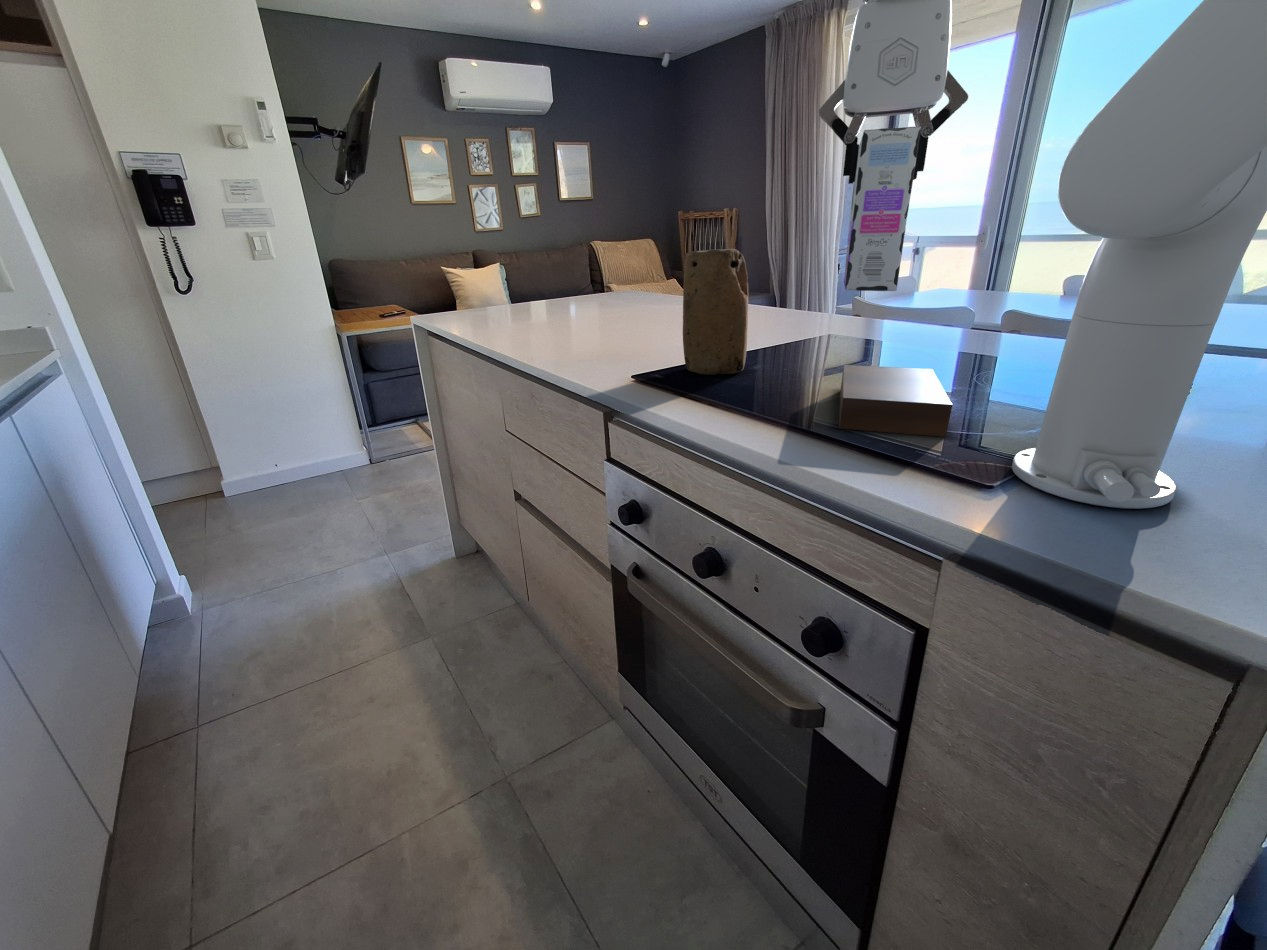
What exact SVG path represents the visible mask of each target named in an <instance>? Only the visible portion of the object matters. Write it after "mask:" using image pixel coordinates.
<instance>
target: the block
mask: <svg viewBox="0 0 1267 950" xmlns="http://www.w3.org/2000/svg"><path fill="white" fill-rule="evenodd" d="M684 258H685V259H684V269H683V285H682V286H683V287H682V289H683V291H682V293H683V294H682V299H683V300H682V347H683V357H684V364H685V367H686V369H687V371H689V372H691V373H694V374H697V375H702V376H703V375H704V376H705V375H706V376H716V375H734V374H737V373H741V372H742V371H743V370H744V368H745V366H746V358H747V351H748V350H747V349H748V325H749V282H748V281H749V280H748V279H749V277H748V271H747V263H746V260H745V257H744V254H742V253H741V252H740V251H739V250H738V249H735V248H726V249H706V250H693V251H688V252H687V253H686V254H685V257H684Z"/></svg>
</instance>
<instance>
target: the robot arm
mask: <svg viewBox="0 0 1267 950" xmlns="http://www.w3.org/2000/svg"><path fill="white" fill-rule="evenodd" d="M862 2H863V3H864V2H865V3H864V4H862V5H860V6H859V7H858V9H857V12H856V15H855V19H854V23H853V28H852V33H851V38H850V43H849V50H848V58H847V65H846V72H845V79H844V80H843V81H842V83H841V84H840V85H839V86H838V87H837V88H836V89H835V91H833V92H832V94H831V95H830V96H829V97H828V98H827V100H826V101H824V103H823V104H822V105H821V106H820V108H819V109H818V115H819V118H821V119H822V120H823V122H824V123H826V125H827V126H828V127H830V129H831V131H833V132H834V134H835V135H836V136H837V137H838V138H839V139H840V140H841V142H842V143H843V144H844V146H845V153H844V163H843V173H842V177H848V182H847V183H848V184H849V185H851V184H853V185H854V182H855V176H856V168H857V160H858V151H859V145H860V143H859V142H858V140H859V138H858V135H859V133H860V130H861V128H862V126H863V124H864V122H865V119H866V118H878V117H890V116H900V115H911V114H912V118H913V121H914V127H916V126H921V132H920V138H919V145H918V151H917V157H916V164H915V170H914V177H913V181H914V180H917V178H918V172H924V169H925V164H926V156H927V150H928V143H929V138H930V137H931V136H932V135H933V134H934V133H935V132H936V131H937V130H939V128H940V127H941V126H943V124H945V122H946V121H947V120H948V119H949V118H950V117H952V116H953V115H954V114H955V113H956V112H957V111H958V110H959V109H960V108H961V107H963V105H965V103H967V101H968V100H969V94H968V92H967V91H966V90H965V89H964V87H963V86H962V85H961V84H960V83H959V81H958V80H957V79H956V78H955V77H954V76H953V75H952V73H951V71H950V70H948V67H949V57H950V49H951V38H952V37H951V36H952V22H953V21H952V20H953V19H952V17H953V13H952V12H953V6H952V5H953V1H952V0H862ZM944 95H945V96H946V97H947V98H948V102H947V104H946V105H944V107H943V108H942V109H941V110H940V111H938V113H937V114H935V115H934V116H933V117H932V118H931V114H930V110H931V109H933V108H934V107H935V106H936V105H937V103H938V102H940V101H941V99H942V98H943V96H944ZM842 102H843V110H844V114H845V115H846V116H847V117H849V118H851V121H850V123H849V125H847V123H845V121H844V120H842V118H840V116H839V115H838V114H837V113H836V109H837V108H838V106H839V105H840V104H841V103H842ZM858 143H859V144H858ZM1057 198H1058V203H1059V206H1060V209H1061V212H1062V214H1063V216H1064V217H1065V219H1066V220H1067V221H1068V222H1069V223H1070V224H1071V225H1072V226H1073V227H1075V228H1076V229H1078V230H1079V231H1081V232H1083V233H1084V234H1087V235H1090V236H1093V237H1097V238H1101V241H1100V242H1099V244H1098V247H1097V248H1096V251H1095V253H1094V254H1093V257H1092V259H1091V261H1090V264H1089V265H1088V268H1087V270H1086V273H1085V275H1084V278H1083V281H1082V284H1081V287H1080V288H1079V292H1078V296H1077V300H1076V303H1075V307H1074V310H1073V314H1072V317H1071V320H1070V323H1069V326H1068V330H1067V334H1066V337H1065V341H1064V345H1063V348H1062V352H1061V356H1060V359H1059V363H1058V366H1057V370H1056V373H1055V378H1054V380H1053V384H1052V388H1051V391H1050V394H1049V398H1048V402H1047V406H1046V408H1045V409H1046V410H1045V412H1044V416H1043V419H1042V423H1041V427H1040V430H1039V434H1038V438H1037V442H1036V445H1035V447H1033V448H1027V449H1025V450H1021V451H1019V452H1018V453H1016V454H1015V455H1014V457H1013V459H1012V464H1011V469H1012V472H1013V474H1014V475H1016V477H1017V478H1019V479H1020V480H1022V481H1023V482H1024V483H1026V484H1027V485H1029V486H1031V487H1033V488H1035V489H1037V490H1040V491H1042V492H1044V493H1047V494H1051V495H1054V496H1056V497H1060V498H1062V499H1066V500H1070V501H1074V502H1078V503H1083V504H1088V505H1092V506H1100V507H1105V508H1115V509H1126V510H1127V509H1129V510H1133V509H1134V510H1138V509H1139V510H1141V509H1142V510H1143V509H1153V508H1158V507H1161V506H1162V507H1163V506H1164V505H1166V504H1168V503H1170V502H1171V501H1172V500H1173V499H1174V497H1175V494H1176V490H1177V485H1176V483H1175V482H1174V481H1173V480H1172V478H1171V477H1170V476H1168V475H1167V474H1165V473H1164V472H1162V471H1160V470H1161V467H1162V465H1163V462H1164V460H1165V457H1166V454H1167V452H1168V449H1169V446H1170V444H1171V441H1172V439H1173V437H1174V434H1175V431H1176V428H1177V426H1178V423H1179V420H1180V418H1181V415H1182V412H1183V410H1184V408H1185V405H1186V402H1187V399H1188V397H1189V394H1190V391H1191V389H1192V386H1193V383H1194V381H1195V379H1196V378H1195V377H1196V376H1197V373H1198V371H1199V367H1200V365H1201V362H1202V360H1203V357H1204V355H1205V352H1206V350H1207V347H1208V344H1209V342H1210V339H1211V336H1212V334H1213V331H1214V329H1215V326H1216V324H1217V323H1218V320H1219V317H1220V314H1221V313H1222V309H1223V307H1224V304H1225V302H1226V299H1227V297H1228V294H1229V291H1230V289H1231V287H1232V284H1233V281H1234V279H1235V276H1236V274H1237V273H1238V270H1239V268H1240V265H1241V264H1242V261H1243V259H1244V257H1245V254H1246V252H1247V250H1248V248H1249V246H1250V244H1251V241H1252V240H1253V238H1254V236H1255V234H1256V232H1257V230H1258V228H1259V227H1260V225H1261V223H1262V221H1263V220H1264V217H1265V215H1266V213H1267V0H1202V1H1201V2H1200V3H1199V5H1197V6H1196V7H1195V9H1194V10H1192V12H1191V13H1190V14H1189V15H1188V16H1187V17H1186V18H1185V19H1184V20H1183V22H1181V24H1180V25H1179V26H1177V28H1176V29H1175V30H1174V31H1173V32H1172V33H1171V34H1170V36H1168V37H1167V39H1165V41H1164V42H1163V43H1162V44H1161V45H1160V46H1159V47H1157V49H1156V50H1155V51H1154V52H1153V53H1152V54H1151V55H1150V57H1148V59H1146V61H1145V62H1144V63H1143V64H1142V65H1141V66H1140V67H1139V68H1138V69H1137V70H1136V71H1135V73H1133V74H1132V75H1131V77H1129V79H1128V80H1127V81H1126V82H1125V83H1124V84H1123V85H1122V86H1121V87H1120V88H1119V89H1118V91H1116V92H1115V94H1114V95H1112V97H1111V98H1110V99H1109V100H1108V101H1107V102H1106V103H1105V104H1104V105H1103V107H1102V108H1100V110H1099V111H1097V113H1096V114H1095V116H1093V118H1092V119H1091V120H1090V121H1089V123H1088V124H1086V126H1085V128H1084V129H1083V130H1082V131H1081V133H1080V134H1079V135H1078V137H1077V138H1076V140H1075V141H1074V142H1073V144H1072V146H1071V148H1070V150H1069V151H1068V153H1067V155H1066V157H1065V159H1064V161H1063V164H1062V166H1061V170H1060V172H1059V177H1058V182H1057Z"/></svg>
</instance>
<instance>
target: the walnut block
mask: <svg viewBox="0 0 1267 950" xmlns="http://www.w3.org/2000/svg"><path fill="white" fill-rule="evenodd" d="M839 391H840V393H839V394H840V395H839V425H838V429H841V430H852V431H853V430H854V431H865V432H866V431H867V432H879V433H890V434H891V433H892V434H903V435H914V436H915V435H916V436H929V437H939V438H946V437H947V433H948V427H949V424H950V419H951V413H952V410H953V403H952V402H951V400H950V398H949V396H948V395H947V393H946V391H945V389H944V387H943V386H942V384H941V382H940V380H939V378H938V377H937V375H936V373H935V372H934V369H932V368H922V367H921V368H919V367H898V366H897V367H896V366H877V365H876V366H875V365H856V364H855V365H854V364H843V367H842V375H841V382H840V390H839Z"/></svg>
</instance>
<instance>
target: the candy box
mask: <svg viewBox="0 0 1267 950" xmlns="http://www.w3.org/2000/svg"><path fill="white" fill-rule="evenodd" d="M920 132H921V126H904V127H893V128H892V127H887V128H875V129H874V128H873V129H864V130H863V132H862V136H861V139H860V142H859V151H858V160H857V168H856V176H855V182H853V187H852V197H851V205H850V215H849V223H848V224H849V225H848V235H847V243H846V256H845V267H844V277H843V285H844V290H845V291H857V292H897V291H898V282H899V275H900V270H901V262H902V255H903V249H904V242H905V234H906V230H907V229H906V228H907V227H906V226H907V221H908V213H909V208H910V203H911V202H910V201H911V196H912V189H913V184H914V183H913V182H914V180H913V177H914V170H915V164H916V157H917V151H918V145H919V138H920Z"/></svg>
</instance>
